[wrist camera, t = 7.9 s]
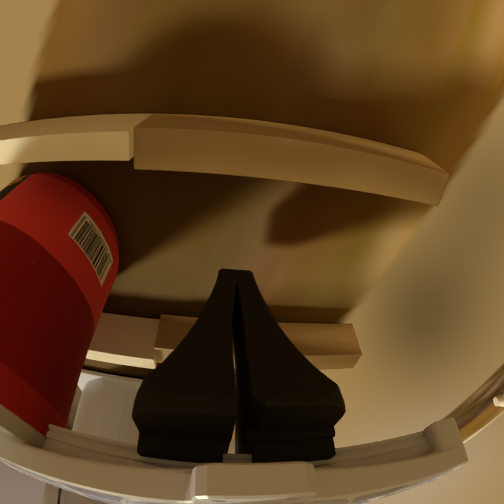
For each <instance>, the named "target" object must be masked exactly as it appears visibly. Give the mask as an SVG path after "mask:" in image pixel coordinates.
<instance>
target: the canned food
mask: <svg viewBox="0 0 504 504" xmlns="http://www.w3.org/2000/svg"><path fill="white" fill-rule="evenodd" d="M118 266H119V243H118V237H117V234H116V230H115V227H114V225H113V223H112V221H111V219H110V217H109V215H108V213H107V212H106V210H105V209H104V208H103V206H102V205H101V203H100V202H99V201H98V200H97V199H96V198H95V197H94V196H93V195H92V194H91V192H89V191H88V190H87V189H85V188H84V187H83V186H82V185H80V184H79V183H77V182H75V181H74V180H72V179H70V178H68V177H66V176H63V175H60V174H57V173H50V172H40V173H33V174H29V175H25V176H22V177H20V178H18V179H16V180H14V181H12V182H11V183H10V184H9V185H8V186H6V187H5V188H4V189H3V190H2V191H0V430H1V431H3V432H4V433H6V434H7V435H9V436H10V437H12V438H13V439H15V440H16V441H18V442H19V443H26V444H29V445H31V446H34V447H37V448H41V449H43V446H44V444H45V442H46V440H47V437H46V434H47V431H49V430H50V429H49V427H48V426H49V424H52V425H55V426H58V427H61V428H65V429H66V425H67V421H68V417H69V413H70V409H71V405H72V402H73V398H74V395H75V391H76V388H77V384H78V381H79V378H80V374H81V371H82V368H83V365H84V362H85V359H86V356H87V353H88V350H89V347H90V344H91V341H92V338H93V335H94V332H95V330H96V327H97V324H98V321H99V319H100V316H101V313H102V311H103V308H104V305H105V303H106V300H107V298H108V295H109V293H110V290H111V288H112V285H113V283H114V281H115V278H116V276H117V273H118Z"/></svg>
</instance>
